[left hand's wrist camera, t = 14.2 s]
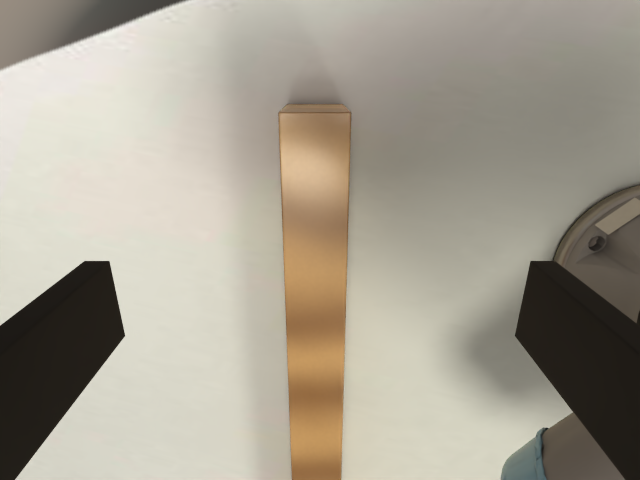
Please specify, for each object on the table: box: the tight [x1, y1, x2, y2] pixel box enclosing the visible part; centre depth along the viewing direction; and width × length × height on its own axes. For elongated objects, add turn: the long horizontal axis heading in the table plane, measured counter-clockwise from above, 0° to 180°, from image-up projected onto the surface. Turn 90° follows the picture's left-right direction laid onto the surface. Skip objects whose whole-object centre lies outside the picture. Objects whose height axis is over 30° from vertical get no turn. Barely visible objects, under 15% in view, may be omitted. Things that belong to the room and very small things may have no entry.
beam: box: [278, 104, 351, 480], centre depth 41 cm, size 64×5×8 cm, turn 0°
